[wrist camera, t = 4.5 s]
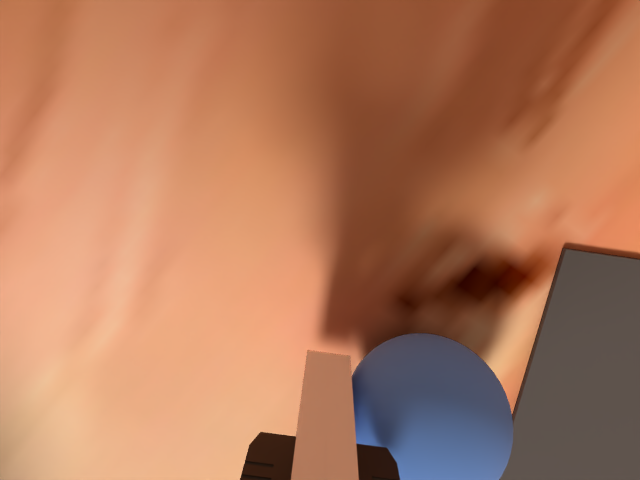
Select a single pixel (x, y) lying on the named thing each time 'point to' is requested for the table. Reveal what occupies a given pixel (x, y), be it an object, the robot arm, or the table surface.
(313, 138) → the table surface
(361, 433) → the ball
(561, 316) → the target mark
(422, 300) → the table surface
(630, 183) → the table surface
